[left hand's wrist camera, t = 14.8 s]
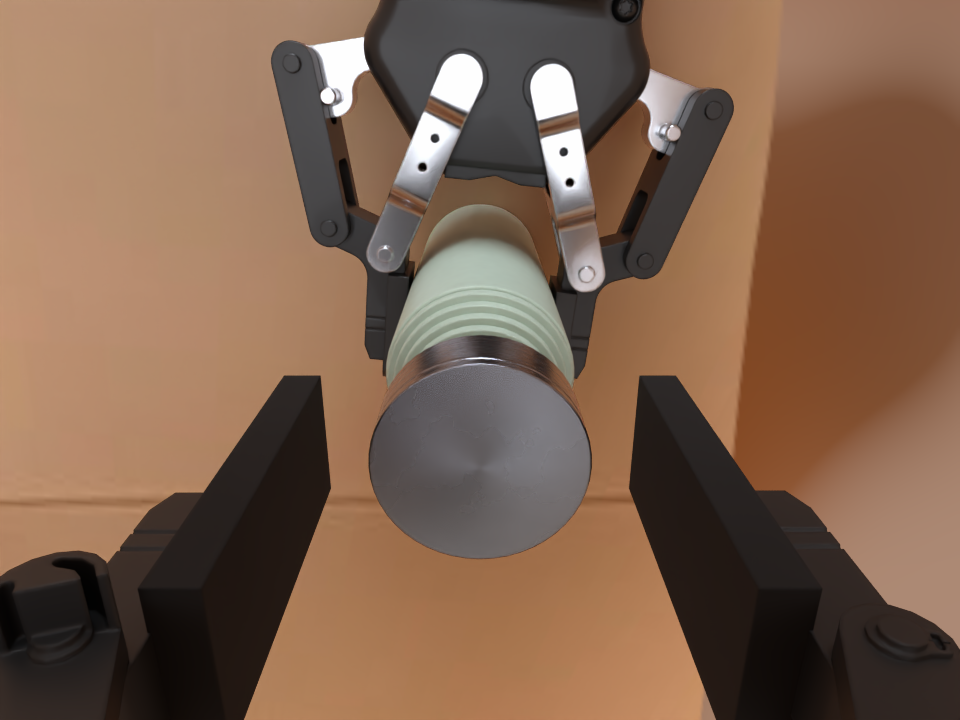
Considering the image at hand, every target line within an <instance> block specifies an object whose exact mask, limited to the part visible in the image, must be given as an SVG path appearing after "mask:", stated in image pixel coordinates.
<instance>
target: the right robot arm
mask: <svg viewBox="0 0 960 720" xmlns="http://www.w3.org/2000/svg"><path fill="white" fill-rule="evenodd" d="M643 4H644V0H380V3H379V6H378V8H377V10H376V12H375V14H374V16H373V18H372V19H371V21H370V22H369V24H368V26H367V29H366V31H365V35H364V37H361V38H355V39H349V40H342V41H336V42H330V43H323V44H317V45H307V44H304V43H300V42H296V41H284V42H282V43H280V44H279V45H278V46H276V48H275V49H274V51H273V53H272V57H271V65H272V70H273V74H274V78H275V83H276V87H277V91H278V95H279V100H280V104H281V108H282V112H283V117H284V121H285V125H286V129H287V134H288V138H289V142H290V147H291V151H292V155H293V159H294V164H295V168H296V172H297V176H298V181H299V185H300V189H301V193H302V198H303V202H304V206H305V211H306V215H307V219H308V223H309V228H310V232H311V234H312V236H313V238H314V239H315V240H316V241H317V242H318V243H319V244H321V245H323V246H326V247H338V248H340V249H342V250H344V251H346V252H348V253H350V254H353V255H354V256H356V257H357V258H359V259H360V260H361V261H362V263H363V264H364V266H365V268H366V271H367V301H366V324H365V327H366V329H365V347H366V350H367V352H368V355H369V358H370V359H378V360H383V376H386V362H387V357H388V352H389V348H390V346H391V343H392V340H393V337H394V334H395V331H396V328H397V326H398V323H399V320H400V317H401V314H402V311H403V309H404V306H405V303H406V300H407V297H408V294H409V291H410V289H411V286H412V283H413V280H414V268H415V262H414V261H409V252H410V245H411V243H412V241H413V239H414V236H415V234H416V232H417V230H418V227H419V225H420V223H421V221H422V218H423V216H424V214H425V212H426V209H427V207H428V205H429V203H430V200H431V198H432V196H433V194H434V192H435V189H436V187H437V185H438V183H439V180H440V178H441V176H442V174H445V178H455V179H465V180H472V179H478V178H484V177H490V176H498V177H501V178H503V179H506V180H508V181H511V182H513V183H516V184H518V185H523V186H532V187H542V188H544V193H545V198H546V202H547V206H548V210H549V213H550V217H551V222H552V227H553V231H554V236H555V241H556V246H557V250H558V255H559V266H558V273H557V276H550V282H549V288H550V290H551V293H552V296H553V299H554V302H555V304H556V307H557V310H558V313H559V316H560V319H561V321H562V324H563V327H564V330H565V333H566V336H567V338H568V341H569V344H570V348H571V351H572V355H573V361H574V378H575V379H577V378H578V376H579V375H580V373H581V371H582V370H583V368H584V367H585V362H586V356H587V349H588V344H589V338H590V333H591V327H592V321H593V315H594V309H595V303H596V298H597V296H598V294H599V292H600V291H601V289H602V288H603V287H604V286H606V285H607V284H609V283H611V282H614V281H617V280H621V279H625V278H629V277H636V278H638V279H648V278H651V277H653V276H655V275H656V274H657V273H658V272H659V271H660V270H661V268H662V266H663V264H664V262H665V260H666V258H667V256H668V253H669V251H670V249H671V247H672V245H673V243H674V240H675V238H676V236H677V234H678V232H679V230H680V228H681V225H682V223H683V221H684V219H685V217H686V215H687V212H688V210H689V208H690V206H691V204H692V202H693V200H694V197H695V195H696V193H697V191H698V189H699V187H700V184H701V182H702V180H703V178H704V176H705V174H706V172H707V169H708V167H709V165H710V163H711V161H712V159H713V157H714V154H715V152H716V150H717V148H718V146H719V144H720V141H721V139H722V137H723V135H724V133H725V131H726V129H727V126H728V124H729V122H730V120H731V118H732V115H733V111H734V105H733V100H732V98H731V97H730V95H729V94H728V93H727V92H725V91H724V90H721V89H714V88H697V87H694V86H692V85H689V84H687V83H684V82H682V81H679V80H677V79H674V78H672V77H669V76H667V75H664V74H662V73H659V72H657V71H654V70H652V69H650V60H649V55H648V52H647V49H646V46H645V43H644V39H643V34H642V10H643ZM369 72H371V73H372V75H373V76H374V78H375V80H376V81H377V83H378V85H379V87H380V88H381V90H382V92H383V93H384V95H385V97H386V98H387V100H388V102H389V103H390V105H391V107H392V109H393V110H394V112H395V114H396V115H397V117H398V119H399V120H400V122H401V124H402V126H403V127H404V129H405V131H406V132H407V134H408V136H409V137H410V139H411V142H410V145H409V147H408V149H407V152H406V154H405V157H404V159H403V161H402V164H401V166H400V168H399V171H398V173H397V176H396V178H395V180H394V183H393V185H392V188H391V190H390V193H389V196H388V199H387V202H386V204H385V206H384V209H383V211H382V214H381V216H380V217H379V216H377V215H375V214H373V213H371V212H369V211H367V210H365V209H362V208H360V207H359V203H358V198H357V193H356V188H355V183H354V179H353V174H352V169H351V164H350V159H349V154H348V149H347V144H346V140H345V135H344V130H343V125H342V120H341V116H345V115H347V114H349V113H351V112H352V111H353V109H354V108H355V106H356V103H357V87H358V84H359V81H360V80H361V78H362V77H363V76H364V75H365V74H367V73H369ZM635 102H637V103H638V104H639V105H640V106H641V108H642V110H643V113H644V122H643V126H642V139H643V141H644V143H645V144H646V145H647V146H648V147H649V148H651V149H653V150H652V152H651V154H650V157H649V159H648V161H647V163H646V166H645V168H644V170H643V173H642V175H641V177H640V180H639V182H638V184H637V187H636V189H635V191H634V194H633V196H632V198H631V201H630V203H629V205H628V207H627V210H626V212H625V214H624V217H623V219H622V221H621V224H620V226H619V228H618V231H617V233H616V234H612V235H608V236H604V237H600V238H599V235H598V230H597V225H596V209H595V203H594V198H593V192H592V187H591V182H590V176H589V171H588V166H587V160H586V156H587V155H588V153H589V152H590V151H591V150H592V149H593V148H594V147H595V146H596V145H597V144H598V143H599V141H600V140H601V139H602V138H603V137H604V136H605V135H606V134H607V133H608V132H609V130H610V129H611V128H612V127H613V126H614V125H615V124H616V123H617V122H618V121H619V119H620V118H621V117H622V116H623V115H624V114H625V113H626V112H627V111H628V110H629V109H630V107H631V106H632V105H633V104H634V103H635Z"/></svg>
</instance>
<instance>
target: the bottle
mask: <svg viewBox="0 0 960 720" xmlns="http://www.w3.org/2000/svg"><path fill="white" fill-rule="evenodd" d="M471 335H489V336H498V337H503V338H508V339H511V340H514V341H517V342H520V343H523V344H525V345H527V346H529V347H531V348H533V349H535V350H536V351H538V352H540V353H541V354H543V355H544V356H545V357H547V358H548V359H549V360H550V361H551V362H553V363H554V364H555V365H556V366H557V368H558V369H559V370H560V371H561V372H562V373H563V374H564V376H565V377H566V379H567V380H568V382H569V383H570V385H571V387H572V389H573V383H574V361H573V355H572V351H571V348H570V344H569V341H568V338H567V336H566V333H565V330H564V327H563V324H562V321H561V319H560V316H559V313H558V310H557V307H556V304H555V302H554V299H553V296H552V293H551V290H550V288H549V285H548V282H547V279H546V276H545V273H544V271H543V268H542V265H541V262H540V259H539V256H538V254H537V251H536V248H535V245H534V242H533V240H532V237H531V235H530V233H529V232H528V230H527V228H526V227H525V226H524V224H523V223H522V222H521V221H520V220H519V219H518V218H517V217H516V216H514V215H513V214H511V213H510V212H508V211H506V210H504V209H502V208H499V207H497V206H492V205H486V204H473V205H467V206H464V207H461V208H458V209H456V210H454V211H452V212H450V213H449V214H447V215H446V216H445V217H444V218H442V219H441V220H440V221H439V222H438V224H437V225H436V226H435V227H434V229H433V230H432V232H431V234H430V236H429V238H428V240H427V243H426V246H425V249H424V252H423V255H422V257H421V260H420V263H419V266H418V269H417V272H416V274H415V277H414V280H413V283H412V286H411V289H410V291H409V294H408V297H407V300H406V303H405V306H404V309H403V311H402V314H401V317H400V320H399V323H398V326H397V328H396V331H395V334H394V337H393V340H392V343H391V346H390V348H389V352H388V357H387V362H386V380H387V387H388V388H389V386H390V384H391V382H392V381H393V379H394V378H395V376H396V375H397V374H398V372H399V371H400V370H401V369H402V368H403V367H404V366H405V365H406V364H407V363H408V362H409V361H410V360H411V359H413V358H414V357H415V356H416V355H418V354H419V353H421V352H422V351H424V350H425V349H427V348H429V347H431V346H433V345H435V344H438V343H440V342H443V341H446V340H449V339H452V338H457V337H462V336H471Z"/></svg>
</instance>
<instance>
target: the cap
mask: <svg viewBox="0 0 960 720" xmlns="http://www.w3.org/2000/svg"><path fill="white" fill-rule="evenodd" d="M591 469H592V453H591V446H590V441H589V437H588V434H587V431H586V428H585V425H584V421H583V418H582V415H581V412H580V409H579V405H578V402H577V399H576V396H575V394H574V391H573V389H572V387H571V385H570V383H569V382H568V380H567V379H566V377H565V376H564V374H563V373H562V372H561V371H560V370H559V369H558V368H557V366H556V365H555V364H554V363H553V362H551V361H550V360H549V359H548V358H547V357H545V356H544V355H543V354H541V353H540V352H538V351H536V350H535V349H533V348H531V347H529V346H527V345H525V344H523V343H520V342H517V341H514V340H511V339H508V338H503V337H498V336H489V335H471V336H462V337H457V338H452V339H449V340H446V341H443V342H440V343H438V344H435V345H433V346H431V347H429V348H427V349H425V350H424V351H422V352H421V353H419V354H418V355H416V356H415V357H414V358H413V359H411V360H410V361H409V362H408V363H407V364H406V365H405V366H404V367H403V368H402V369H401V370H400V371H399V372H398V374H397V375H396V376H395V378H394V379H393V381H392V382H391V384H390V386H389V388H388V390H387V392H386V394H385V397H384V400H383V403H382V406H381V410H380V413H379V416H378V419H377V422H376V426H375V429H374V432H373V435H372V438H371V442H370V449H369V473H370V480H371V483H372V486H373V490H374V493H375V495H376V497H377V499H378V501H379V503H380V505H381V507H382V508H383V510H384V511H385V513H386V514H387V516H388V517H389V518H390V519H391V520H392V521H393V523H394V524H395V525H396V526H397V527H398V528H399V529H401V530H402V531H403V532H404V533H405V534H406V535H408V536H409V537H411V538H412V539H413V540H415V541H417V542H418V543H420V544H422V545H424V546H426V547H428V548H430V549H433V550H435V551H438V552H440V553H444V554H447V555H451V556H456V557H462V558H470V559H490V558H499V557H505V556H509V555H513V554H517V553H520V552H523V551H525V550H528V549H530V548H533V547H535V546H536V545H538V544H540V543H542V542H544V541H545V540H547V539H548V538H550V537H551V536H553V535H554V534H555V533H556V532H558V531H559V530H560V529H561V528H562V527H563V526H564V525H565V524H566V523H567V522H568V521H569V520H570V518H571V517H572V516H573V515H574V513H575V512H576V510H577V509H578V507H579V506H580V504H581V502H582V500H583V498H584V496H585V493H586V491H587V488H588V484H589V481H590V476H591Z"/></svg>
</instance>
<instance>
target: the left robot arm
mask: <svg viewBox="0 0 960 720" xmlns="http://www.w3.org/2000/svg"><path fill="white" fill-rule="evenodd" d="M330 489H331V484H330V473H329V462H328V451H327V441H326V430H325V419H324V408H323V397H322V387H321V376H284V377H283V378H282V380H281V381H280V382H279V384H278V385H277V387H276V388H275V390H274V391H273V393H272V394H271V396H270V397H269V398H268V400H267V401H266V403H265V404H264V406H263V407H262V409H261V410H260V411H259V413H258V414H257V416H256V417H255V419H254V420H253V422H252V423H251V425H250V426H249V427H248V429H247V430H246V432H245V433H244V435H243V436H242V438H241V439H240V440H239V442H238V443H237V445H236V446H235V448H234V449H233V451H232V452H231V454H230V455H229V456H228V458H227V459H226V461H225V462H224V464H223V465H222V467H221V468H220V469H219V471H218V472H217V474H216V475H215V477H214V478H213V480H212V481H211V482H210V484H209V485H208V487H207V488H206V490H205V491H204V493H174V494H173V495H171V496H170V497H168V498H167V499H165V500H164V501H162V502H161V503H159V504H158V505H156V506H155V507H153V508H152V509H150V510H149V511H148V513H147V514H146V515H145V516H144V518H143V519H142V520H141V522H140V523H139V524H138V525H137V527H136V528H135V529H134V533H133V534H130V535H129V537H128V538H127V539H126V540H125V542H124V543H123V544H122V546H121V547H120V551H117V552H116V553H115V554H114V556H113V557H112V558H111V559H110V561H109V562H108V563H106V561H104V560H103V559H102V558H101V557H99V556H98V555H97V554H94V553H88V552H83V551H69V552H57V553H53V554H50V555H46V556H42V557H39V558H35V559H32V560H30V561H28V562H26V563H23V564H21V565H19V566H17V567H15V568H13V569H11V570H9V571H7V572H6V573H5V574H3V575H2V576H0V720H244V718H245V715H246V713H247V710H248V707H249V705H250V702H251V699H252V697H253V694H254V691H255V689H256V686H257V683H258V681H259V678H260V676H261V673H262V670H263V668H264V665H265V662H266V660H267V657H268V654H269V652H270V649H271V646H272V644H273V641H274V638H275V636H276V633H277V630H278V628H279V625H280V622H281V620H282V617H283V614H284V612H285V609H286V606H287V604H288V601H289V598H290V596H291V593H292V590H293V588H294V585H295V582H296V580H297V577H298V574H299V572H300V569H301V566H302V564H303V561H304V559H305V556H306V553H307V551H308V548H309V545H310V543H311V540H312V537H313V535H314V532H315V529H316V527H317V524H318V521H319V519H320V516H321V513H322V511H323V508H324V505H325V503H326V500H327V497H328V495H329V492H330ZM629 489H630V492H631V495H632V497H633V500H634V503H635V505H636V508H637V511H638V513H639V516H640V519H641V521H642V524H643V527H644V529H645V532H646V535H647V537H648V540H649V543H650V545H651V548H652V551H653V553H654V556H655V559H656V561H657V564H658V567H659V569H660V572H661V574H662V577H663V580H664V582H665V585H666V588H667V590H668V593H669V596H670V598H671V601H672V604H673V606H674V609H675V612H676V614H677V617H678V620H679V622H680V625H681V628H682V630H683V633H684V636H685V638H686V641H687V644H688V646H689V649H690V652H691V654H692V657H693V660H694V662H695V665H696V668H697V670H698V673H699V676H700V678H701V681H702V683H703V686H704V689H705V691H706V694H707V697H708V699H709V702H710V705H711V707H712V710H713V713H714V715H715V718H716V720H960V649H959V648H958V646H957V645H956V643H955V642H954V640H953V639H952V638H951V637H950V636H949V635H947V634H946V633H945V632H944V631H943V630H941V629H940V628H939V627H938V626H937V625H935V624H934V623H932V622H930V621H928V620H926V619H925V618H923V617H921V616H919V615H917V614H915V613H913V612H911V611H907V610H904V609H901V608H898V607H895V606H892V605H888V604H887V603H886V602H885V601H884V599H883V598H882V597H881V595H880V594H879V593H878V592H877V590H876V589H875V588H874V587H873V585H872V584H871V583H870V582H869V580H868V579H867V578H866V577H865V575H864V574H863V573H862V572H861V570H860V569H859V568H858V566H857V565H856V564H855V563H854V561H853V560H852V559H851V558H850V556H849V555H848V554H847V553H846V551H845V550H844V549H841V548H840V544H839V543H838V541H837V540H836V539H835V538H834V536H833V535H832V534H831V533H830V532H827V528H826V526H825V525H824V524H823V523H822V521H821V520H820V519H819V517H818V516H817V515H816V514H815V512H814V511H813V510H812V509H811V508H810V507H809V506H807V505H806V504H804V503H803V502H801V501H800V500H798V499H797V498H795V497H794V496H792V495H791V494H789V493H788V492H786V491H755V490H754V488H753V487H752V485H751V484H750V483H749V481H748V480H747V478H746V477H745V475H744V474H743V472H742V471H741V469H740V468H739V467H738V465H737V464H736V462H735V461H734V459H733V458H732V456H731V455H730V454H729V452H728V451H727V449H726V448H725V446H724V445H723V443H722V442H721V440H720V439H719V438H718V436H717V435H716V433H715V432H714V430H713V429H712V427H711V426H710V425H709V423H708V422H707V420H706V419H705V417H704V416H703V414H702V413H701V411H700V410H699V409H698V407H697V406H696V404H695V403H694V401H693V400H692V398H691V397H690V396H689V394H688V393H687V391H686V390H685V388H684V387H683V385H682V384H681V382H680V381H679V380H678V378H677V377H676V376H639V387H638V397H637V408H636V419H635V430H634V441H633V451H632V462H631V473H630V484H629Z"/></svg>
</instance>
